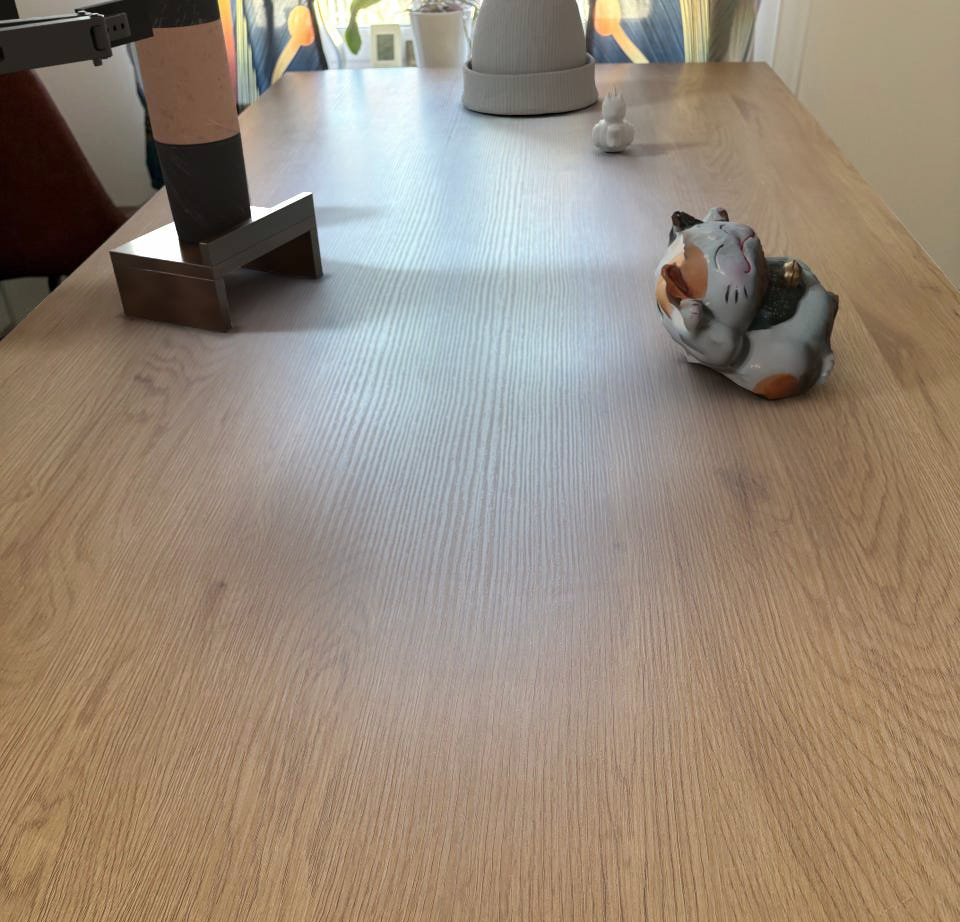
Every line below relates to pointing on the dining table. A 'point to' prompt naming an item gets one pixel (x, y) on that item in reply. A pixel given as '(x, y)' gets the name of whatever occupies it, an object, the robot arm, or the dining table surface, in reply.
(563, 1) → the beanie hat
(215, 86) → the travel mug
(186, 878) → the dining table surface
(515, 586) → the dining table surface
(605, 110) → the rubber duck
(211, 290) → the shelf
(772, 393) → the lucky cat figurine
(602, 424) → the dining table surface
